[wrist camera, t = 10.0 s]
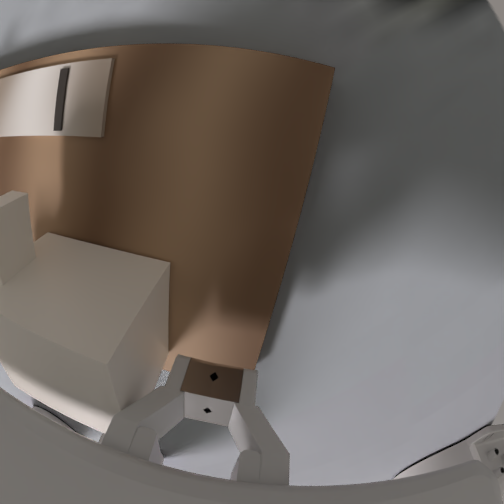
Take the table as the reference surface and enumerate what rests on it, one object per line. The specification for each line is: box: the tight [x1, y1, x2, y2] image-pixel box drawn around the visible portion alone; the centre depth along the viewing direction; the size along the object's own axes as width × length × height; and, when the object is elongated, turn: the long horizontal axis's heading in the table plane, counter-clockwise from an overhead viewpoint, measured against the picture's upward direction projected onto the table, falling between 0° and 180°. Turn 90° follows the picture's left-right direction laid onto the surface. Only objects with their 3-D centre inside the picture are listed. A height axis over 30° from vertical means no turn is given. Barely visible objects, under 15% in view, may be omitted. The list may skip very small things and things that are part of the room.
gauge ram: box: [0, 191, 170, 434], centre depth 8 cm, size 8×8×5 cm
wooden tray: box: [0, 44, 335, 371], centre depth 10 cm, size 26×14×2 cm, turn 79°
